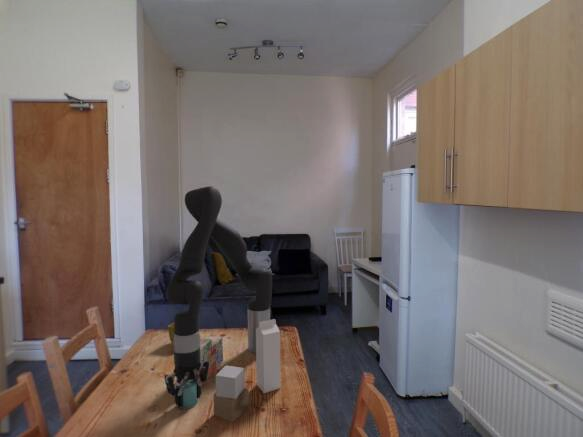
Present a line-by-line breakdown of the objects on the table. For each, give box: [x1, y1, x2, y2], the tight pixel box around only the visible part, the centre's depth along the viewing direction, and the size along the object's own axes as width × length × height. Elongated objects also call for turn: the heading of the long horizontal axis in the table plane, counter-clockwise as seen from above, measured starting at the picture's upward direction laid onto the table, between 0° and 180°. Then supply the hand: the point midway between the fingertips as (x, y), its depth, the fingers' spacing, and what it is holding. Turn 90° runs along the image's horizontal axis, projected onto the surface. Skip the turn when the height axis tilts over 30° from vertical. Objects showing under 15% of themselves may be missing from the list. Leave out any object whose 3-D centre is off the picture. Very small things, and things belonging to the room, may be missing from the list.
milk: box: [255, 318, 282, 394], centre depth 112 cm, size 6×6×22 cm
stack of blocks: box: [180, 336, 224, 382], centre depth 121 cm, size 21×6×12 cm, turn 167°
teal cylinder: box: [180, 380, 198, 410], centre depth 103 cm, size 5×5×6 cm
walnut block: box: [212, 388, 250, 424], centre depth 99 cm, size 7×7×6 cm
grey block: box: [215, 365, 246, 399], centre depth 98 cm, size 6×6×6 cm
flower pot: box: [167, 322, 174, 345], centre depth 147 cm, size 9×9×9 cm
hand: (188, 401), depth 103 cm, fingers open, 5 cm apart
